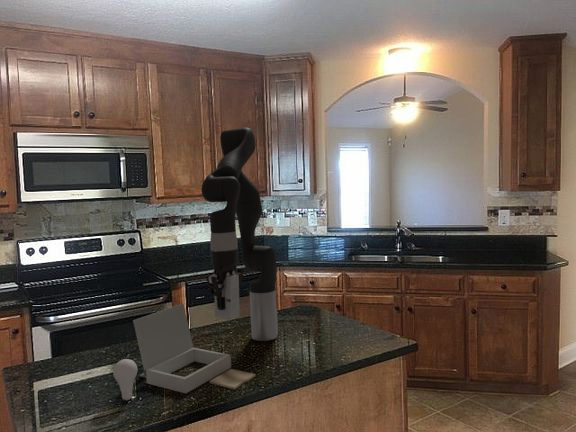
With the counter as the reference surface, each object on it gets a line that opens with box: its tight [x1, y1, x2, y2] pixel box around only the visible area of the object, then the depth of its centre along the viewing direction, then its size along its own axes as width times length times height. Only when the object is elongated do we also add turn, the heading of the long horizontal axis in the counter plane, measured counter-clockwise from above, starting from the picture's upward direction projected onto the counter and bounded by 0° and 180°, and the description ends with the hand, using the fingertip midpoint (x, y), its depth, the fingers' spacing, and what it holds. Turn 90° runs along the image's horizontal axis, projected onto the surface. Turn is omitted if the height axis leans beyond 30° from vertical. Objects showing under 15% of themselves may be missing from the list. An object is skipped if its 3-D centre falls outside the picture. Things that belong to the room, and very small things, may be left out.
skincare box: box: [213, 275, 240, 321], centre depth 139 cm, size 6×4×12 cm
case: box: [145, 347, 232, 394], centre depth 145 cm, size 20×15×4 cm
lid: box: [132, 303, 194, 371], centre depth 149 cm, size 20×14×1 cm
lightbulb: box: [112, 358, 138, 401], centre depth 129 cm, size 6×6×11 cm
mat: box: [208, 368, 256, 390], centre depth 140 cm, size 10×9×1 cm
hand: (227, 307), depth 139 cm, fingers closed on skincare box, 4 cm apart
